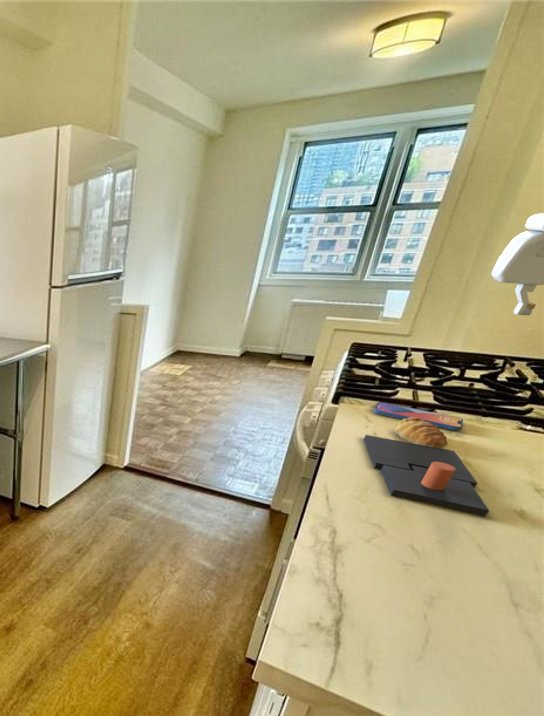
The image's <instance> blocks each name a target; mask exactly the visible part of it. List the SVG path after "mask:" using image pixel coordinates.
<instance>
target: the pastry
mask: <svg viewBox="0 0 544 716" xmlns="http://www.w3.org/2000/svg"><path fill="white" fill-rule="evenodd" d="M393 428H394V432H395V435H398V436H399V437H400V438H402V439H403V440H406V441H407V442H408V443H414V444H419V445H424V446H430V447H435V448H441V449H445V447H446V446H448V445H449V442H448V440H447V438H448V437H447V436H446V435H445V433H444V432H443V431H442V430H440V427H438V426H434V425H433V424H432V423H430V422H424V421H423V420H422V419H420V418H417V417H410V418H407V419H400V421H398V422H397V423H395V424H394V426H393Z"/></svg>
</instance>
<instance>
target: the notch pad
mask: <svg viewBox="0 0 544 716" xmlns="http://www.w3.org/2000/svg"><path fill="white" fill-rule="evenodd" d="M363 442H364V444H365V445H364V446H365V447H366V450H367V452H368V455H369V458H370V460H371V463H372V466H373V468H374V469H375V470H381V469H382V467H383V465H386V466H391V467H396V468H401V469H406V470H411V469H410V468H411V466H417V467H422V468H427V469H429V467H430V465H431V464H432V462H442V463H446V464H449V465H451V466H453V467H454V468H455V469H456V470H455V471H454V473H453V475H452V477H451V479H456V480H461V481H465V482H470V483H471V485H472V486H473V488H474V489H475V488H476V486H477V485H478V482H477V481H476V479H475V478H474V476H473V474H471V472H470V471H469V469H468V468H467V467H466V465H465V464H464V462H463V461H462V459H461V458H460V456H459V455H458V454H457V452H456V451H455V450H451V449H446V448H435V447H430V446H424V445H419V444H414V443H412V442H409V441H402V440H396V439H390V438H386V437H381V436H376V435H375V436H374V435H369V434H365V435H364V438H363Z"/></svg>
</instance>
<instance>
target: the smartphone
mask: <svg viewBox="0 0 544 716" xmlns="http://www.w3.org/2000/svg"><path fill="white" fill-rule="evenodd" d="M373 412H374V413H375V414H377V415H381V416H386V417H391V418H395V419H400V420H403V419H407V418H410V417H417V418H420V419H422V420H423V421H424V422H430V423H432V424H433V425H434V426H437V427H438V428H442V429H446V430H451V431H456V432H457V431H461V430H462V429H463V426H464V418H462V417H459V416H458V417H457V416H455V415H449V414H444V413H440V412H439V413H438V412H433V411H429V410H424V409H419V408H413V407H408V406H404V405H398V404H393V403H390V402H389V403H388V402H384V401H379V402H377V403H376V406H375V407H374V410H373Z"/></svg>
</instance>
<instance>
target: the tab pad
mask: <svg viewBox="0 0 544 716" xmlns="http://www.w3.org/2000/svg"><path fill="white" fill-rule="evenodd" d="M410 469H411V470H406V469H401V468H396V467H391V466H386V465H383V467H382V469H380V471H381V474H382V476H383V479H384V482H385V484H386V486H387V489H388V491H389V494H390V496H391V497H396V498H400V499H406V500H410V501H414V502H418V503H424V504H427V505H432V506H437V507H442V508H445V509H451V510H454V511H459V512H463V513H464V512H465V513H468V514H472V515H478V516H481V517H486V516H487V515H488V514H489V512H490V509H489V507H487V505H486V504H485V502H484V501H483V499H482V498H481V497H480V495H479V494H478V492H477V491H476V489H475V488H473V486H472V485H471V483H470V482H465V481H461V480H456V479H451V477H452V475H453V473H454V471H455V470H456V469H455V468H454V467H453V466H451V465H449V464H446V463H442V462H432V464H431V465H430V467H429V469H427V468H422V467H417V466H411V468H410Z"/></svg>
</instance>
